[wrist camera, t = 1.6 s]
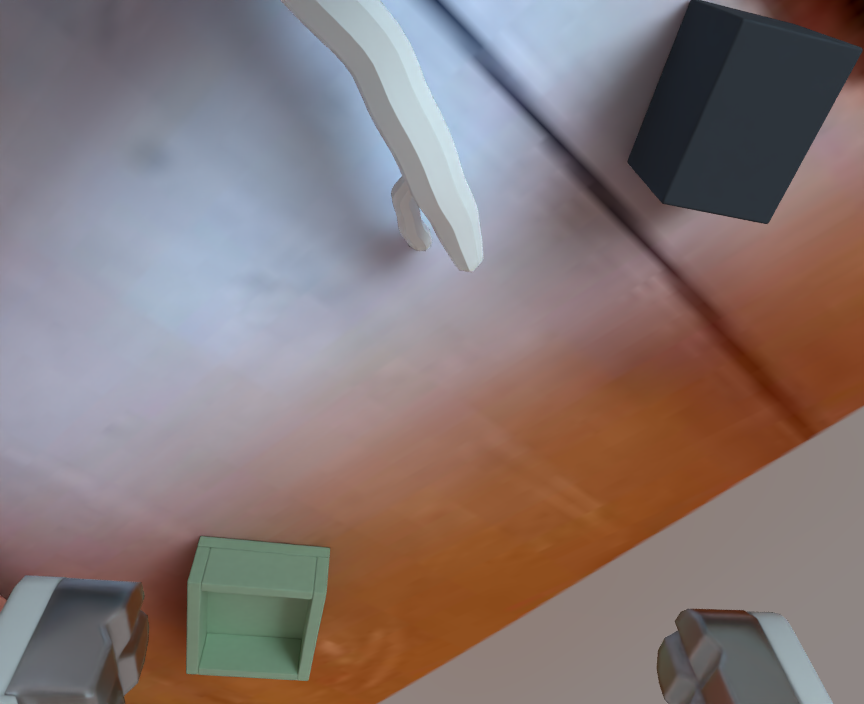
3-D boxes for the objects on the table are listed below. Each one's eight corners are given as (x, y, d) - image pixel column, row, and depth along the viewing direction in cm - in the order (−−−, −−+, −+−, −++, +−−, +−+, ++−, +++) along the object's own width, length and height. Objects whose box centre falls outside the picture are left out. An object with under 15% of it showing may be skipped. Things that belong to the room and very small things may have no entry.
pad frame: (197, 627, 36) (185, 674, 34) (200, 535, 32) (187, 582, 29) (312, 635, 37) (308, 681, 35) (330, 547, 33) (326, 593, 31)
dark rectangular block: (625, 162, 22) (661, 204, 19) (690, -3, 19) (743, 18, 16) (720, 182, 23) (768, 225, 20) (796, 24, 20) (865, 48, 17)
